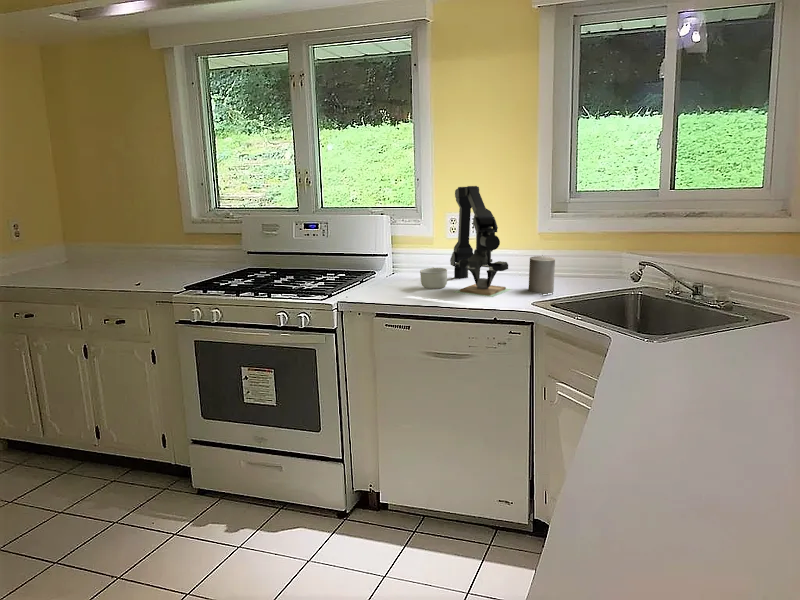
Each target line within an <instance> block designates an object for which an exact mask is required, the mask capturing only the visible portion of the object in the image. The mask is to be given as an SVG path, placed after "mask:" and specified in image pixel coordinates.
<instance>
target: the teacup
mask: <svg viewBox="0 0 800 600" xmlns="http://www.w3.org/2000/svg"><path fill="white" fill-rule="evenodd" d="M419 273H420V282H421V286H422V287H423V289H428V290H436V289H437V290H438V289H439V290H440V289H443V288H445V287H446V286H447V284H448V269H447V268H444V267H433V266H432V267H429V268H428V267H427V268H423V269H421V270H420V271H419Z"/></svg>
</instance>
